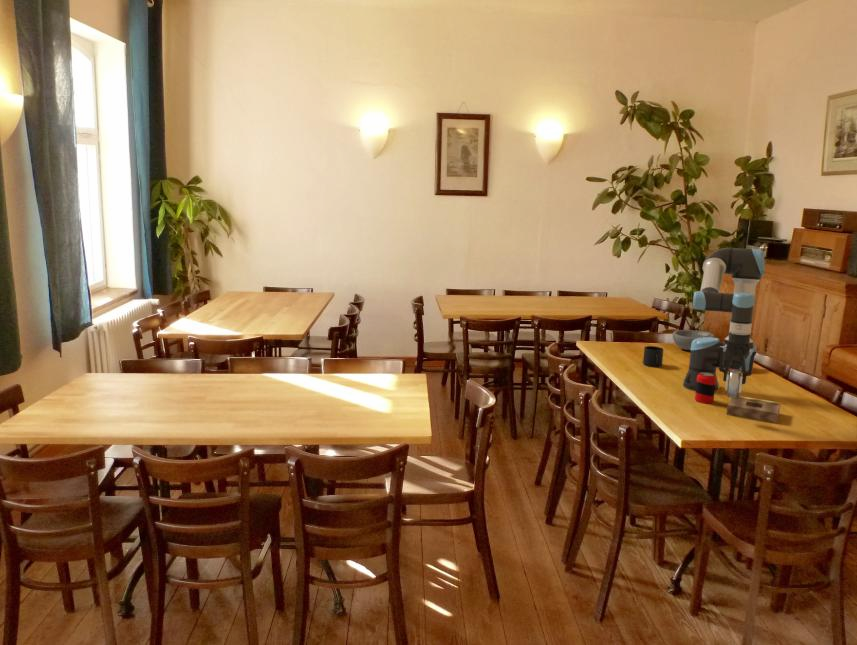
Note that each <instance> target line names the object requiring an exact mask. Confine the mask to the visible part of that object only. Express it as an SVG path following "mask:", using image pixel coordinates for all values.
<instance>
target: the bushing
mask: <svg viewBox="0 0 857 645" xmlns="http://www.w3.org/2000/svg"><path fill="white" fill-rule="evenodd" d="M728 373H729V380H728V389H727V390H726V397H729V398H731V399H732V398H738V397H739V396H740V392H739V384H740V376H741V375H742V371H737V370H730V371H728Z"/></svg>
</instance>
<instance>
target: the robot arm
mask: <svg viewBox="0 0 857 645" xmlns="http://www.w3.org/2000/svg"><path fill="white" fill-rule="evenodd" d="M765 270H766V269H765V253H764V251H763V250H762V249H756V248H739V247H738V248H736V247H724V248H723V247H722V248H719V249H717V250H716V249H715V251H713V252H711V253H710V254H708V255H707V256H706V258H705V259H704V261H703V262H702V272H703V276H702V280H701V286H700V290H699V291H698V290H697V291H694V293H693V297H692V298H693V299H692V300H693V301H692V308H693V309H694V310H699V311H709V312H710V311H711V312H721V313H722V312H723V313H730V314H731V315H730V323H729V331H728V335H727V336H726V337H725V338H724V341H723V342H722V341H720V338H717V337H715V338H713V337H704V338H697V339H694V340H693V341H692V344H691V348H690V350H691V351H690V352H689V353H690V354H689V361H688V362H689V365H688V371H687V373H686V375H685V377H684V379H683V383H682V385H683V387H684V388H686V389H689V390H692V391H696V382H697V376H698V375H699V374H700V373H703V372H705V373H711V374H714V376H715V377H716V384H715V392H717V391H718V390H719V387H720V386H719V385H720V384H719V381H718V377H717V368H716V367H719V369H718V371H719V372H722V373H723V379H722V380H723V382H725V388H724V390H725V391H727V389H728V380H729V371H728V370H729V369H736V370H742V371H741V372H742V373H741V376H740V384H739V394H742V393H741V392H742V388H743V385H745V384H747V383H746V381H747V377H750V376H752V374H753V368H754V363H755V357H756V356H757V353H758V351H757V346H756V345H754V340H753V339H752V338H751V332H752V326H753V325H752V324H753V316H754V307H755V302H756V301H755V300H756V297H755V296H756V288H757V287H756V286H757V284H758V283H759V282H760V281H761V278H762V277H765V275H766V274H765ZM724 274H725V275H731V281H733V283H734V287H733V293H729V292H728V293H727V292H726V293H725V292H721V289H722V281H723V275H724ZM724 368H725V369H724Z"/></svg>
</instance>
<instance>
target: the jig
mask: <svg viewBox="0 0 857 645" xmlns="http://www.w3.org/2000/svg"><path fill="white" fill-rule="evenodd" d="M780 408H781V404H780V403H779V402H778V401H773V400H767V399H760V398H753V397H747V396H743V395H742V396H741V395H739V397H738V398H732V397H731V399H730V401H729V402H728V404H727V410H726V415H727V416H732V417H733V416H734V417H739V418H744V419H745V418H746V419H750V420H751V419H752V420H755V421H761V422H768V423H774V424H777V422H778V419H779V416H780V410H781V409H780Z"/></svg>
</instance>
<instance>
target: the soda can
mask: <svg viewBox="0 0 857 645" xmlns="http://www.w3.org/2000/svg"><path fill="white" fill-rule="evenodd" d="M715 384H716V377H715V376H714V374H711V373H705V372H703V373H700V374H699V375H698V376H697V382H696V391H695V390H694V391H695V393H694V400H695V401H696V402H698V403H701V404H712V403H714V401H715V392H716V391H715Z"/></svg>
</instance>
